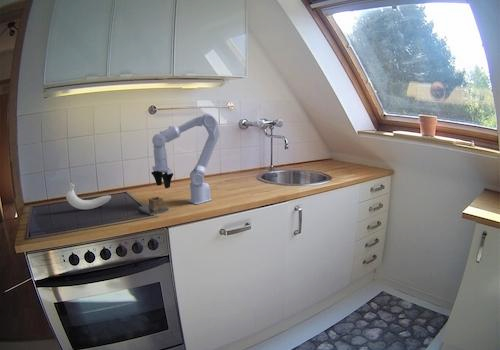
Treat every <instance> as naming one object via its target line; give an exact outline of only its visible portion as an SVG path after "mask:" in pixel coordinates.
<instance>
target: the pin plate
mask: <svg viewBox="0 0 500 350" xmlns="http://www.w3.org/2000/svg"><path fill="white" fill-rule="evenodd" d="M138 210H139V211H141V212H142V213H145V214H147V215H149V216H154V215H153V214H155V215H158V214H161V212H162V213H164V212H168V211H169V210H170V208H168V207H167V206H164V205H163V209H161V210H158V211H152V210H150V209H149V200H148V199H147V204H146V205H142V206H138ZM157 213H158V214H157Z"/></svg>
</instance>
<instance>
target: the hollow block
mask: <svg viewBox="0 0 500 350" xmlns="http://www.w3.org/2000/svg"><path fill="white" fill-rule="evenodd" d="M148 200H149V209H150V210H152V211H158V210H161V209H163V206H164V204H163V203H164V202H163V201H164V200H163V198H161V197H159V196H154V197H150V198H147V201H148Z"/></svg>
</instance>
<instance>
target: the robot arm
mask: <svg viewBox="0 0 500 350" xmlns="http://www.w3.org/2000/svg"><path fill="white" fill-rule="evenodd" d="M195 127H205V130H206V131H207V134H208V136H207V139H206V141H205V144H204V146H203V148H202V150H201V154H200V155H199V158H198V161H197V163H196V165H195V167H194V168H193V169H192V170H191V172H190V173H189V179H190V183H189V191H190V199H188V200H187V202H189V203H191V204H193V205H200V204H203V203H206V202H209V201H212V198H211V197H212V196H211V188H210V185H209V183H208V182H205V174H206V170H207V167H208V163H209V161H210V160H211V157H212V154H213V152H214V150H215V147H216V145H217V142H218V140H219V139H220V138H219V137H220V130H219V123H218V121H217V118H216V117H215V116H214V115H213V114H209V113H205V114H203V115H199V116H196V117H194V118H192V119H190V120H188V121H186V122H184V123H183V124H181V125H179V126H175V125H169V126H168V128H166V129H165V130H163V131H162V130H160V131H159V133H156V134H154V135H153V136H152V140H151V141H152V145H153V146H152V147H153V157H154V160H153V161H154V166H153V165H152V171H151V172H150V173H151V175H152V176H153V178H154V181H155V183H156V186H157V187H159V186H162V184H163V186H164V188H165V189H169V188H170V187H171V181H172V179H173V176H174V173H173V172H172V169H171V168H169V167H168V159H167V157H168V156H167V149H166V143H170V142H172V141H173V140H176V139H178V138H180V136H181V133H184V132H186V131H188V130H190V129H193V128H195Z"/></svg>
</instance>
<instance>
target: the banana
mask: <svg viewBox="0 0 500 350" xmlns="http://www.w3.org/2000/svg"><path fill="white" fill-rule="evenodd" d="M69 186H70V188H69V190H68V191H67V192H66V194H65V198H66V200H67V202H68V203H69V205H70V206H71V207H74V208H76V209H78V210H87V211H88V210H93V209H96V208H99V207H100V206H101V207H102V205H105V204H106V203H108V202H109V201H110V200H111V199H112V196H111V195H103V196H99V197H97V198H94V199H86V200H85V199H81V198H80V197H79V196H78V195H77V194H76V192H75V190H74V189H75V186H76V185H75V184H73V183H72V182H70V185H69Z"/></svg>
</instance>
